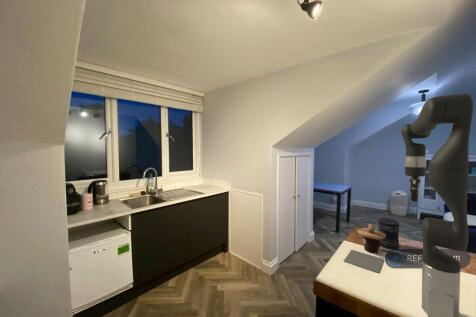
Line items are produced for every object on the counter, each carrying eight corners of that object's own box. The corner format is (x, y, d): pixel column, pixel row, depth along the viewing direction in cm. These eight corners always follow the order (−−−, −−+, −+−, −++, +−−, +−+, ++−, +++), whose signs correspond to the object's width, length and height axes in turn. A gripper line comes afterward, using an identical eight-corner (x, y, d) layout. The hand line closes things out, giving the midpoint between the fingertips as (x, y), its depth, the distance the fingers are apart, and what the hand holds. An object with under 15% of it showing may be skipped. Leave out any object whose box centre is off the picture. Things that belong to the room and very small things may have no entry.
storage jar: (400, 251, 111) (400, 225, 110) (378, 247, 116) (378, 222, 115) (397, 244, 119) (397, 219, 118) (377, 240, 124) (377, 217, 124)
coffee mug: (362, 245, 119) (362, 228, 118) (379, 248, 114) (379, 231, 114) (362, 254, 109) (362, 236, 108) (381, 258, 104) (381, 239, 104)
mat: (378, 273, 92) (378, 272, 92) (343, 261, 103) (343, 260, 103) (383, 259, 103) (383, 259, 103) (351, 250, 113) (351, 249, 113)
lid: (383, 241, 102) (383, 231, 102) (354, 234, 111) (354, 225, 111) (387, 233, 111) (387, 224, 111) (360, 227, 120) (360, 218, 120)
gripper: (425, 167, 87) (425, 204, 88) (426, 165, 97) (425, 197, 98) (403, 166, 92) (403, 201, 93) (406, 164, 102) (405, 195, 103)
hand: (414, 199), depth 95 cm, fingers open, 8 cm apart
